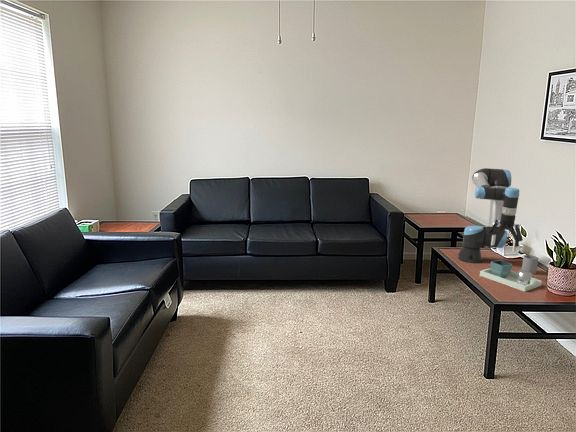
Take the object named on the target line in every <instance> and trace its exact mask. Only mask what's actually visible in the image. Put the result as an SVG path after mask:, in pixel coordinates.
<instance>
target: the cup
mask: <svg viewBox="0 0 576 432" xmlns="http://www.w3.org/2000/svg"><path fill="white" fill-rule="evenodd" d="M538 264H539V257H538V256H535V255H532V254H531V255H530V254H524V255H523V258H522V265H521V269H520V270H526V271H529V272H531V273H532V275H536V274H537V270H538Z"/></svg>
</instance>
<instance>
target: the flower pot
mask: <svg viewBox="0 0 576 432" xmlns="http://www.w3.org/2000/svg"><path fill="white" fill-rule="evenodd" d="M490 268H491V272H492V274H493V275H495V276H498V277H501V278H505V277H507V276H508V275H509V273H510V271H512V268H513V264H512V263H509V262H507V261H505V260H501V259H499V260H494V261H492V260H491V261H490Z"/></svg>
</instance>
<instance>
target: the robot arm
mask: <svg viewBox="0 0 576 432" xmlns="http://www.w3.org/2000/svg"><path fill="white" fill-rule="evenodd" d="M471 180H472V182H473V184H474V185H475V191H474V197H475V199H479V200H490V205H489V216H488V224H487V226H486V227H485V228H484V227H483V226H481V225H468V226H466V227H465V228H464V231H463V238H462V245H461V248H460V251H459V252H458V254H457V258H458V260H460V261H462V262H466V263H472V264H478V263H481V262H482V260H483V257H482V252H481V249H482V248H481V247H486V248H488V247H489V248H495V249H497V248H499V249H503V248H504V247H505V246H506V243H507V240H508V231H509V233H510V234H511V236H512V238H513V239H514V241H513V244H512V250H511V252H513V253H514V252H515V253H516V251H517V248H518V247H519V243H520V242H522V241H523V236H522V232H521V228H520V226H521V224H518V223H517V224H515V221H516V214H517V209H518V204H519V199H520V198H519V196H520V188H517V187H511V185H512V173H511V171H510V170H509V169H503V168H501V169H500V168H489V167H486V168H481V169H478V170H476V171H474V173H473V174H472V176H471Z"/></svg>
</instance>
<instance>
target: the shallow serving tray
mask: <svg viewBox="0 0 576 432" xmlns="http://www.w3.org/2000/svg"><path fill="white" fill-rule="evenodd" d="M517 275H518V272H516V271H513V270H511V271H510V273H509V275H508V276H507V277H505V278H501V277H498V276H495V275H493V274H492V272H491V267H490V268H486V269H482V270H479V278H485V279H488V280H490V281H493V282H494V281H495V282H497V283H499V284H502V285H505V286H508V287H511V288H512V289H513V288H514V289H516V290H519V291H522V292H527V291H530V290H534V289H536V288H538V287H541V286H542V283H543V281H542V280H540V279H538V278H535V277H532V276H531V281H530V284H528V285H525V286H524V285H521V284H518V283H516V281H517Z"/></svg>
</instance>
